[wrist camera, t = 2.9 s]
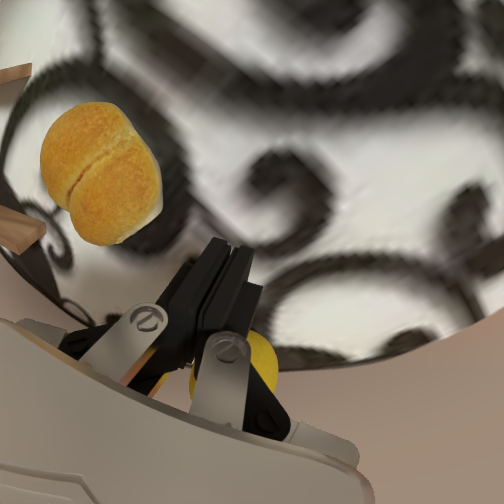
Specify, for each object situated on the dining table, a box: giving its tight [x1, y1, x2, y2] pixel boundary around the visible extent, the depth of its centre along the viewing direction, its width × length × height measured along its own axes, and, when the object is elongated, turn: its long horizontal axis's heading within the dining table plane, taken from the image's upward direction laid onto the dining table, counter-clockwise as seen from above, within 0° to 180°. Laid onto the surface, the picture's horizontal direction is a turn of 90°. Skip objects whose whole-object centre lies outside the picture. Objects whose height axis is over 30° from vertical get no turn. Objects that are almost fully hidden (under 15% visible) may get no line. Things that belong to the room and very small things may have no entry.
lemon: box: [189, 330, 278, 400], centre depth 18 cm, size 6×6×8 cm
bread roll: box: [40, 102, 163, 246], centre depth 15 cm, size 8×9×4 cm
